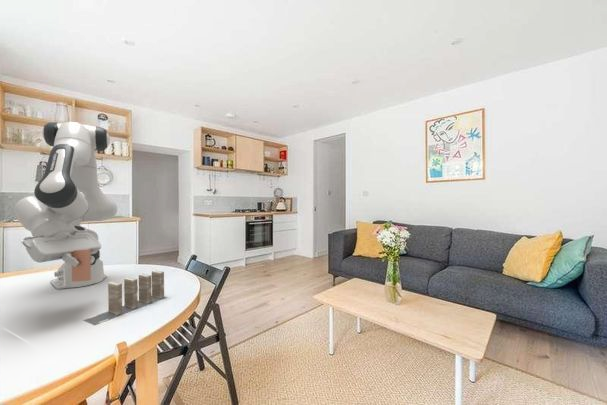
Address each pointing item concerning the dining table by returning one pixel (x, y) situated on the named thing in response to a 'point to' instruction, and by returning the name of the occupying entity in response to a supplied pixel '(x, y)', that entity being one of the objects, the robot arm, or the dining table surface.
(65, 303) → the dining table surface
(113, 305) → the domino
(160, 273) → the domino
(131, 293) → the domino
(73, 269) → the terracotta domino
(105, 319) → the slate mat
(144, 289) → the domino
